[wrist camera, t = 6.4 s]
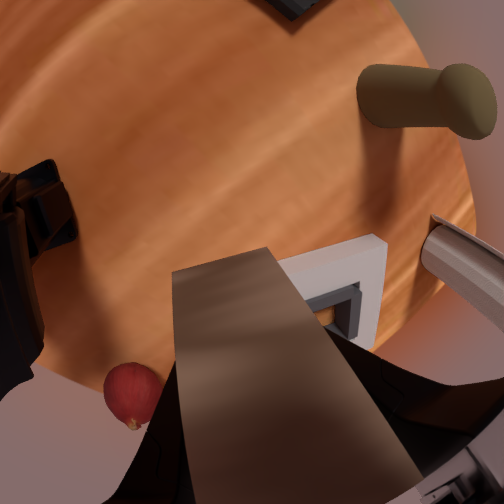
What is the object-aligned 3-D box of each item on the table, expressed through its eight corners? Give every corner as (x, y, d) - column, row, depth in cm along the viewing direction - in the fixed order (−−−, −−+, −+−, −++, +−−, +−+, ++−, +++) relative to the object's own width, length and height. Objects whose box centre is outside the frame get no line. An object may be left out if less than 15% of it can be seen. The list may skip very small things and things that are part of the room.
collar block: (256, 373, 30) (263, 393, 27) (230, 273, 23) (238, 294, 21) (362, 334, 32) (375, 349, 29) (372, 233, 25) (391, 246, 23)
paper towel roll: (440, 266, 31) (551, 361, 13) (413, 269, 30) (539, 382, 11) (456, 216, 28) (584, 302, 10) (431, 212, 27) (581, 313, 8)
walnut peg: (198, 340, 13) (249, 551, 4) (171, 272, 11) (210, 557, 2) (277, 318, 13) (378, 506, 5) (266, 246, 12) (424, 479, 3)
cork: (410, 124, 21) (507, 147, 12) (362, 132, 21) (470, 156, 11) (400, 64, 18) (499, 64, 9) (349, 64, 18) (458, 51, 8)
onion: (149, 387, 27) (151, 448, 20) (101, 370, 25) (93, 433, 18) (170, 357, 26) (176, 424, 19) (117, 337, 23) (109, 406, 16)
